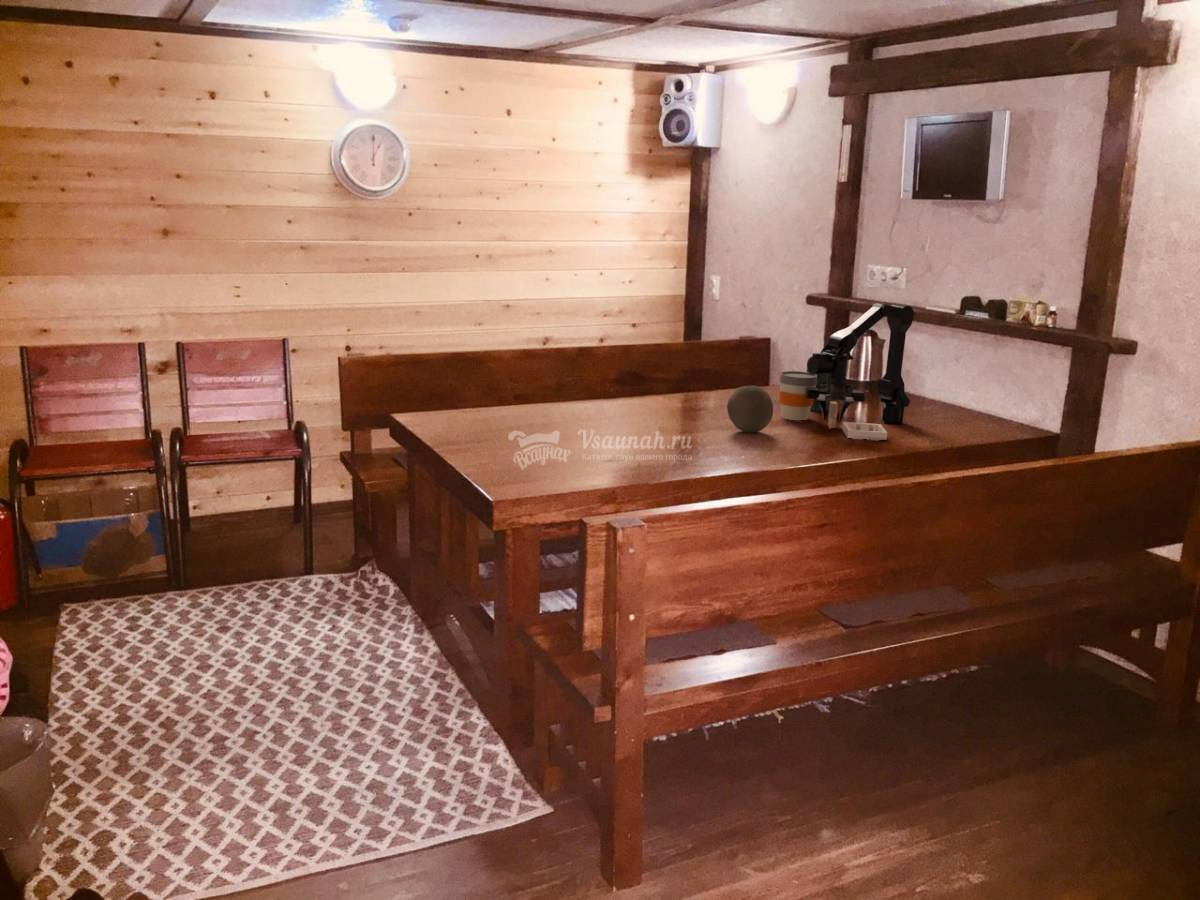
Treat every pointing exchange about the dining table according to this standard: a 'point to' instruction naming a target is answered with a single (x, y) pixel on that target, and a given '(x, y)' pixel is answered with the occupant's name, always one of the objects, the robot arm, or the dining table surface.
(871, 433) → the dish
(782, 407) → the reusable coffee cup
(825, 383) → the coffee jar
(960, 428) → the dining table surface
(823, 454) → the dining table surface
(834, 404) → the tan cuboid brick
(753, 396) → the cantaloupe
